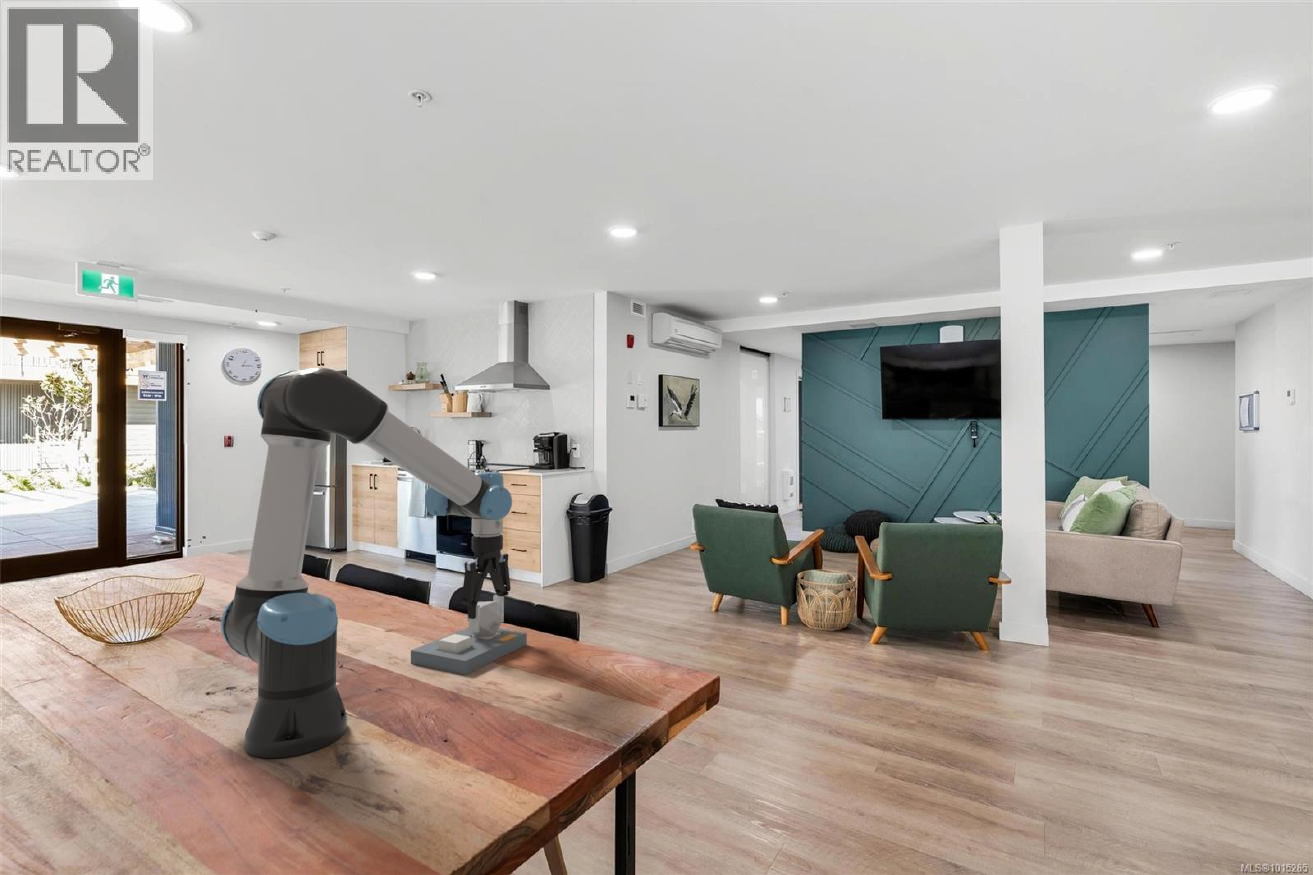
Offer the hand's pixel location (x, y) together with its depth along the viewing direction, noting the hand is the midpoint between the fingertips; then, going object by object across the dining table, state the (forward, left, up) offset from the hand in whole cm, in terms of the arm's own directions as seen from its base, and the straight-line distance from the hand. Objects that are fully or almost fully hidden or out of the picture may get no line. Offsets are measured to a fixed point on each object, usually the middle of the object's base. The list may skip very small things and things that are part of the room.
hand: (486, 626), depth 152 cm
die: (0, 0, -2) cm, 2 cm away
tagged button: (0, 0, -5) cm, 5 cm away
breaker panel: (-5, 0, -5) cm, 7 cm away
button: (-11, 0, -3) cm, 11 cm away
